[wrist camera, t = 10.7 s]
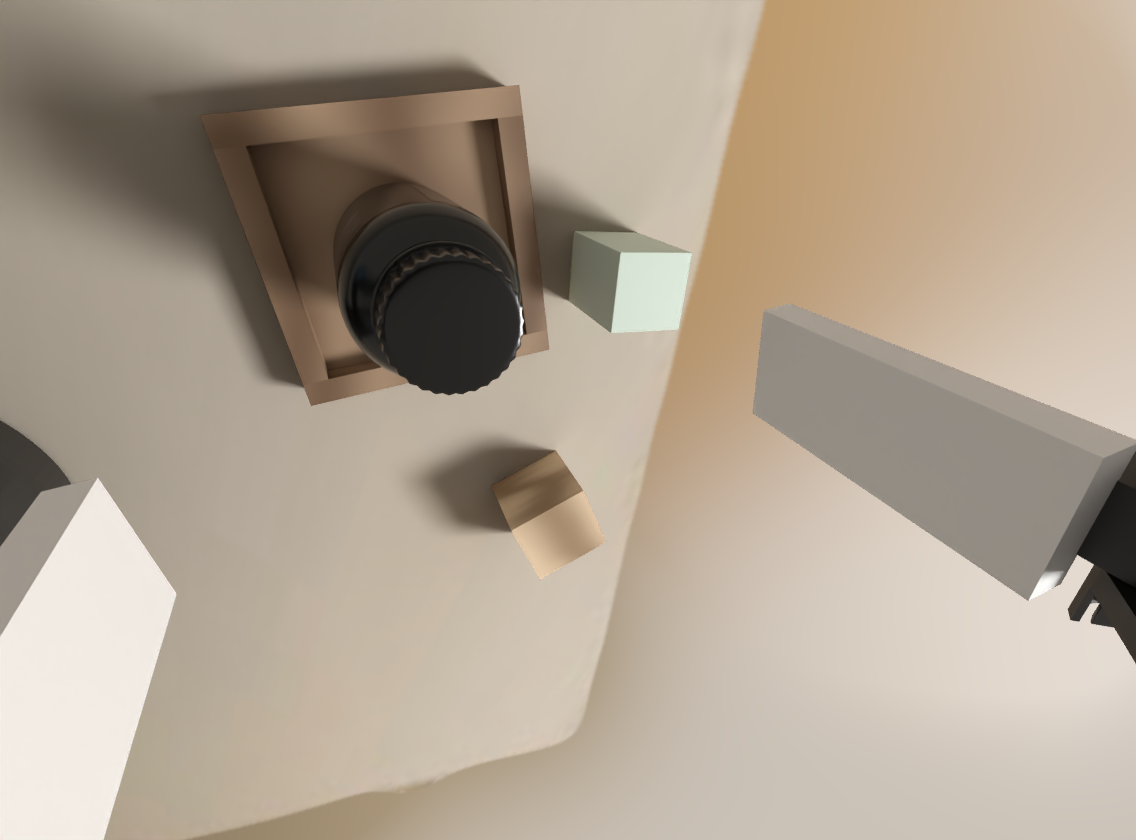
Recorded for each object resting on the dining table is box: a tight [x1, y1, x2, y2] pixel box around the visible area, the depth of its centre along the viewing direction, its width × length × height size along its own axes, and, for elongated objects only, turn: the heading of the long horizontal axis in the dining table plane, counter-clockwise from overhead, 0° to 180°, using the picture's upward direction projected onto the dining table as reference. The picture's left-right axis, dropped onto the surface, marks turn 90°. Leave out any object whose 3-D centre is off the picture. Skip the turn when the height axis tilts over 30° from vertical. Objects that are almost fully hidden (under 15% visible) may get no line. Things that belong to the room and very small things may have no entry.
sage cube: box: [569, 231, 692, 333], centre depth 30 cm, size 4×4×6 cm
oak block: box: [492, 451, 606, 580], centre depth 36 cm, size 5×5×5 cm
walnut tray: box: [200, 85, 549, 406], centre depth 27 cm, size 13×13×2 cm
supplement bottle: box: [333, 182, 525, 395], centre depth 22 cm, size 7×7×12 cm
